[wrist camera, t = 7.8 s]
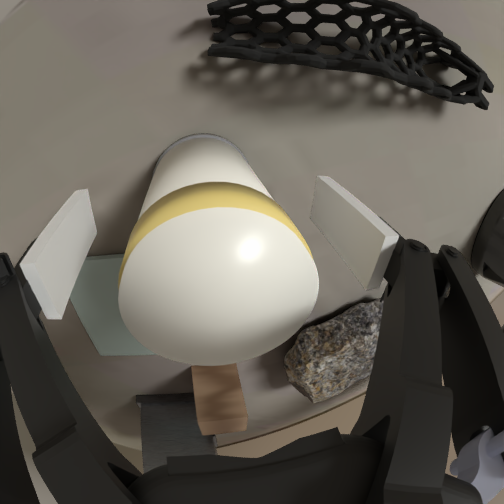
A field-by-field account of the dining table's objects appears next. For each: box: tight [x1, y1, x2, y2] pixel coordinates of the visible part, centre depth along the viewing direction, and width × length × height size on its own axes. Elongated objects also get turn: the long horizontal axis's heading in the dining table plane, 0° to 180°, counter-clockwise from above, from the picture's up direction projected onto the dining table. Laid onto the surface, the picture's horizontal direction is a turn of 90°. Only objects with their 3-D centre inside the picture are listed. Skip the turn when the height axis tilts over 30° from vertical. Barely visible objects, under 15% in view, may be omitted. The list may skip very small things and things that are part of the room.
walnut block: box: [191, 363, 248, 435], centre depth 27 cm, size 5×5×7 cm
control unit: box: [136, 393, 218, 473], centre depth 28 cm, size 10×10×14 cm
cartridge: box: [118, 133, 319, 366], centre depth 12 cm, size 6×6×11 cm
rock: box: [284, 298, 384, 403], centre depth 28 cm, size 13×6×15 cm
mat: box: [69, 254, 158, 356], centre depth 21 cm, size 12×12×1 cm
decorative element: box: [207, 0, 494, 110], centre depth 11 cm, size 22×5×6 cm, turn 92°
